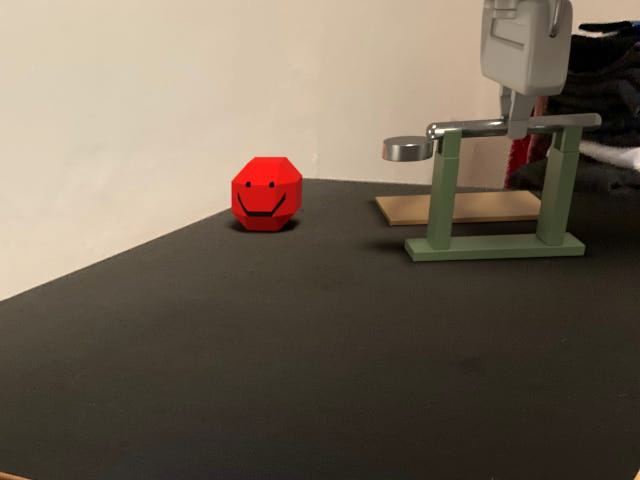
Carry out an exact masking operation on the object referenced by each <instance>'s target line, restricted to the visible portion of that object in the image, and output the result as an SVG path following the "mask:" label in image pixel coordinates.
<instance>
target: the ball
mask: <svg viewBox="0 0 640 480" xmlns="http://www.w3.org/2000/svg"><path fill="white" fill-rule="evenodd" d="M303 178H304V177H303V174H302V173H301V172H300V171H299V170H298V169H297V167H296V166H295V165H294V163H292V162H291V160H290V159H289V158H288V157H287V156H254V157H253V158H252V159H251V160H249V161H248V162H247V163H246V164H245V165H244V166H243V168H242V169H240V171H239V172H238V173H237V174H236V175H235V176H234V178H233V179H232V180H231V181H230V187H231V188H230V195H231V196H230V197H231V199H230V204H231V207H230V208H231V211H230V212H231V213H232V214H233V215H234V216H235V218H236V219H237V220H238V221H239V222H240V223H241V224H242V225H243V227H244V228H245V229H246V230H247V231H271V232H272V231H273V232H274V231H275V232H278V231H280V230H281V229H282V228H283V227H284V225H286V224H287V223H288V222H289V221H290V220H291V218H292V217H293V216H294V215H295V214H296V213H297V212H298V211H299V209H301V207H302V203H303Z"/></svg>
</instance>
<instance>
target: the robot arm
mask: <svg viewBox="0 0 640 480" xmlns="http://www.w3.org/2000/svg"><path fill="white" fill-rule="evenodd" d="M481 11H482V13H481V24H480V25H481V29H480V51H479V59H480V60H479V63H480V71H481V75H482V77H485V78H486V79H489V80H491V81H493V82H495V83H497V84H499V89H498V103H499V105H498V106H499V119H504V118H509V119H507V124H506V132H505V134H506V136H505V137H507V138H508V139H509V140H510V141H511V140H512V141H514V140H523V139H525V138H526V137H527V135H526V134H527V127H528V120H529V118H530V117H531V115H532V112H533V110H534V107H535V104H536V101H537V97H548V96H558V95H560V94H561V93H562V91H563V89H564V87H565V85H566V81H567V76H568V69H569V60H570V53H571V42H572V34H573V33H572V32H573V24H574V23H573V22H574V21H573V20H574V8H573V4H572V2H571V0H483V4H482V9H481Z"/></svg>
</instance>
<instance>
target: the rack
mask: <svg viewBox="0 0 640 480" xmlns="http://www.w3.org/2000/svg"><path fill="white" fill-rule="evenodd" d="M582 129H583V125H580V124H574V125H565V126H564V131H563V133H552V139H551V145H550V146H549V150H548V156H547V163H546V169H545V175H544V182H543V188H542V193H541V200H540V201H541V205H540V211H539V217H538V220H537V224H536V230H535V233H525V234H523V233H522V234H521V233H520V234H497V235H495V234H493V235H473V236H472V235H470V236H451V235H452V228H453V223H452V220H453V211H454V203H455V194H457V185H458V176H459V169H460V168H459V167H460V152H461V143H462V138H461V136H462V131H461V130H444V138H443V139H441V140H436V145H435V146H436V147H435V151H434V159H433V169H432V176H431V177H432V178H431V187H430V188H431V189H430V195H431V196H430V206H429V216H428V224H426V225H427V226H426V235H425V237H419V238H418V237H416V238H405V240H404V249H405V250H406V252H407V254H408V255H409V257H410V259H411V260H412V262H414V263H415V262H437V261H438V262H439V261H440V262H441V261H464V260H465V261H466V260H467V261H468V260H491V259H492V260H494V259H496V260H497V259H521V258H522V259H523V258H545V257H547V258H551V257H576V256H577V257H578V256H584V255H585V250H586V245H585V244H584V243H583V242H581V241H580V240H579V239H578V238H576V237H575V236H574V235H572V234H571V233H570V232H566V230H567V224H568V219H569V215H570V208H571V202H572V197H573V192H574V186H575V181H576V176H577V170H578V164H579V158H580V146H581V142H582V141H581V140H582V135H583V131H582Z"/></svg>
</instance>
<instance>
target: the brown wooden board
mask: <svg viewBox="0 0 640 480" xmlns="http://www.w3.org/2000/svg"><path fill="white" fill-rule="evenodd" d="M430 196H431V194H419V195H418V194H417V195H415V194H413V195H390V196H389V195H388V196H375V197H374V202H375V204H376V206H377V207H378V209H379V210H380V212H381V213H382V215H383V216H384V218H385V220H386V221H387V223H388V224H389V226H414V225H417V226H418V225H428V216H429V206H430ZM540 205H541V200H540V199H539V198H538V197H537V196H536V195H534V194H533V193H532V192H530V191H529V190H515V191H514V190H511V191H487V192H464V193H463V192H462V193H456V194H455V203H454V211H453V220H452V224H463V223H464V224H465V223H488V222H515V221H517V222H518V221H538V217H539V211H540Z"/></svg>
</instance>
